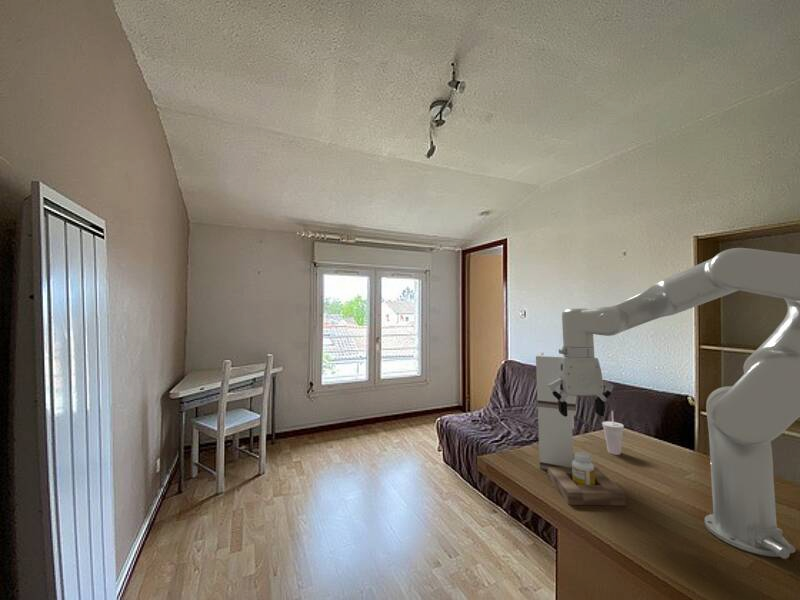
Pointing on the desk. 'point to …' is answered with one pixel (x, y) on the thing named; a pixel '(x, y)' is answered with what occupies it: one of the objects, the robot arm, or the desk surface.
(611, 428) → the smoothie
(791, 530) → the desk surface
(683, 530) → the desk surface
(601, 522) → the desk surface
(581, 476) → the supplement bottle
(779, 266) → the robot arm
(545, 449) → the tall seamed white column
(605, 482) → the socket block
